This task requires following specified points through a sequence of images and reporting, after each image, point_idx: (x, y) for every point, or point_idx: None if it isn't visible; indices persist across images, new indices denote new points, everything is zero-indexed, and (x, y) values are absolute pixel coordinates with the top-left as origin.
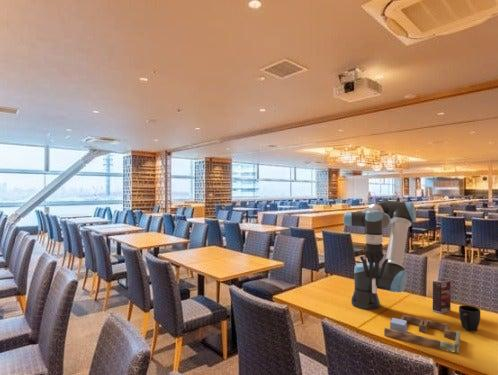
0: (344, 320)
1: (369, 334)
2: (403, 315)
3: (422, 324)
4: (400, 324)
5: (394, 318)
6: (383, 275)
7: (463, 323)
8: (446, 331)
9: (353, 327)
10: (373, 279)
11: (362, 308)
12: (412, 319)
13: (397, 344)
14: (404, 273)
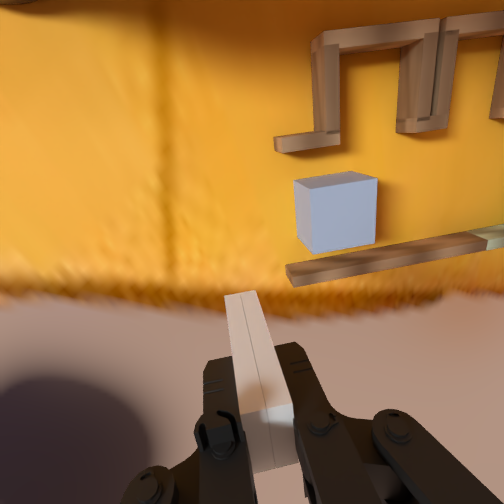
0: (81, 260)
1: None
2: (329, 43)
3: (431, 116)
4: (357, 245)
5: (318, 193)
6: (442, 447)
7: None
8: None
9: (159, 294)
10: (273, 467)
11: (26, 2)
12: (373, 45)
13: (341, 303)
14: None
